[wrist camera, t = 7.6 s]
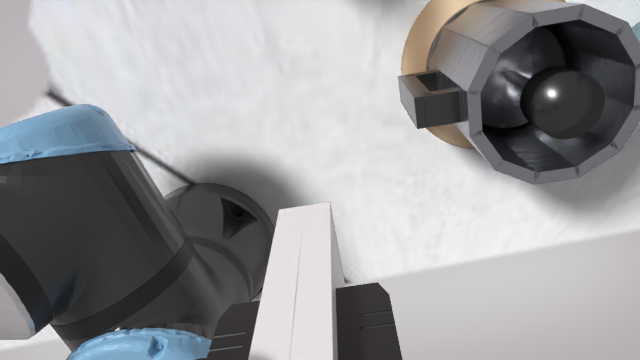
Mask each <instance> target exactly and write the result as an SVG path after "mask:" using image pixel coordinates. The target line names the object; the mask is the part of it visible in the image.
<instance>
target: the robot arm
mask: <svg viewBox="0 0 640 360" xmlns="http://www.w3.org/2000/svg"><path fill="white" fill-rule="evenodd" d="M136 151H137V150H136V148H135V146H133V145H132V144H129V143H128V141H127V140H126V138H125V137H124V136H123V134H122V133H121V131H120V130H119V128H118V127H117V126H116V124H115V123H114V121H113V120H112V118H111V117H110V116H109V114H108V113H107V112H106V111H104V110H103V109H101V108H99V107H97V106H94V105H89V104H79V105H73V106H69V107H65V108H61V109H58V110H54V111H51V112H48V113H44V114H41V115H38V116H35V117H31V118H28V119H25V120H22V121H19V122H16V123H13V124H10V125H8V126H5V127H2V128H0V340H23V339H29V338H31V337H32V336H34V335H35V334H36V333H38V332H39V331H40V330H41V329H43V328H44V327H45V326H46V325H48V324H50V325H51V326H52V327H53V329H54V330H55V331H56V332H57V334H58V335H59V336H60V337H61V339H62V340H63V341H64V342H65V344H66V345H67V346H68V347H69V348H70V350H71V351H72V353H71V354H70V355H69V356H68V358H67V359H66V360H402V356H401V351H400V346H399V341H398V336H397V331H396V326H395V321H394V317H393V312H392V306H391V301H390V297H389V294H388V293H387V292H386V291H385V290H384V289H383V288H382V287H381V286H380V285H379V283H378V282H377V283H370V284H363V285H356V286H349V287H345V282H344V276H343V271H342V265H341V260H340V254H339V249H338V243H337V238H336V232H335V227H334V221H333V216H332V211H331V205H330V202H325V203H318V204H312V205H305V206H299V207H293V208H286V209H280V210H279V213H278V218H277V222H276V227H275V230H274V228H273V225H272V223H271V221H270V219H269V218H268V216H267V215H266V213H265V212H264V211H263V209H262V208H261V207H260V206H259V205H258V204H257V203H256V202H254V201H253V200H252V199H251V198H249V197H248V196H246V195H245V194H243V193H241V192H239V191H237V190H235V189H232V188H229V187H226V186H222V185H216V184H193V185H188V186H185V187H182V188H179V189H177V190H175V191H173V192H171V193H169V194H168V195H166V196H165V197H163V196H162V194H161V193H160V191H159V189H158V188H157V186H156V185H155V183H154V181H153V180H152V178H151V176H150V175H149V173H148V172H147V170H146V168H145V167H144V165H143V164H142V162H141V160H140V159H139V157H138V156H137V154H136ZM261 291H262V295H261V300H260V301H253V302H251V301H252V299H254V298H255V297H256V296H257V295H258V294H259V293H260V292H261Z"/></svg>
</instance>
